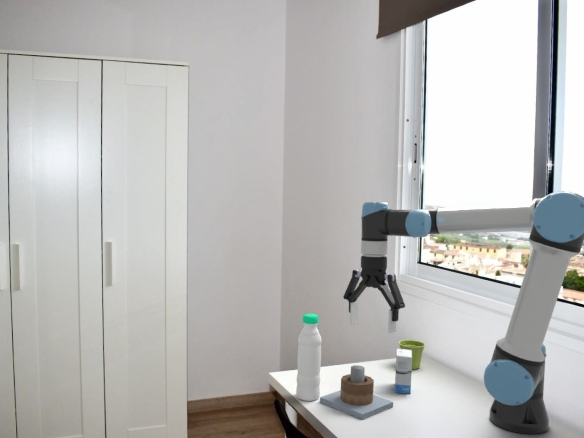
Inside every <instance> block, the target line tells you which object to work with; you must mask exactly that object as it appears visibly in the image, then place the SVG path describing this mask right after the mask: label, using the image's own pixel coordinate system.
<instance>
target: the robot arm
mask: <svg viewBox="0 0 584 438" xmlns="http://www.w3.org/2000/svg"><path fill="white" fill-rule="evenodd" d="M361 207H362V211H361V217H360V218H361V238H360V239H361V241H360V242H361V243H360V253H361V256H360V268H361V269H358V268H357V269H353V270H352V271H351V273H352V274H351V279H350V281H349V283H348V285H347V287H346V289H345V292H344V293H343V299H344V300H347V302H348V313H350V315H349V316H350V319H349V321H350V323H349V325H351V326H353V325H357V324H359V301H358V299H359V297H360V296H362V293H364V290H366V288H373V289H377V290H378V291H380V293H381V295H382V296H383V298H384V299H385V301H386V303H387V304H388V306H389V308H390V309H388V316H387V317H388V322H387V323H388V324H387V325H388V326H387V334H393V333H395V332H397V322H398V321H399V312H400V310H401V309H404V308H405V307H406V304H405V301H404V298H403V297H402V293H401V291H400V288H399V285H398V284H397V275H396V274H395V273H390V274H387V268H388V257H387V256H386V255H387V254H388V240H389V239H388V237H389V236H390V237H392V236H393V237H394V236H395V237H410V238H411V237H412V238H415V239H416V238H425V237H428V236H429V235H440V234H441V235H442V234H443V235H445V234H447V235H448V234H470V233H474V234H475V233H477V234H478V233H479V234H480V233H505V232H506V233H509V232H511V233H513V232H530V234H529V238H528V241H529V243H530V245H531V246H532V249H531V253H530V256H529V260H528V263H527V266H526V270H525V272H524V276H523V278H522V279H523V280H522V282H521V285H520V288H519V291H518V295H517V297H516V302H515V304H514V308H513V310H512V315H511V317H510V321H509V323H508V326H507V327H508V328H507V331H506V334H505V336H504V337H502V338H501V339H498V340H497V341H496V344H495V347H494V350H493V354H492V356H491V360H490V363H489V364H487V366H486V367H485V370H484V373H483V383H484V387H485V389H486V391H487V392H488V393H489V395H490V396H491V397H492V398H493V402H492V404H491V406H490V409H489V420H490V421H491V422H492V424H494V426H495V425H496V426H497V427H499V428H502V429H504V430H506V431H510V432H514V433H520V434H526V435H539V434H543V433H546V432H547V431H548V430H549V429H550V427H549V426H550V419H549V416H548V415H549V414H548V411H547V408H546V404H545V401H544V388H545V372H546V369H545V368H546V357H547V352H546V351H547V350H546V346H545V345H544V341H545V337H546V334H547V332H548V329H549V326H550V322H551V319H552V316H553V313H554V310H555V307H556V305H557V301H558V297H559V295H560V292H561V289H562V286H563V283H564V279H565V276H566V273H567V271H568V267H569V265H570V262H571V261H570V260H571V259H572V258H574V257H576V256H578V255H580V253H581V250H582V247H583V244H584V196H582V195H580V194H578V193H574V192H572V191H564V190H560V191H554V192H551V193H549V194H547V195H545V196H544V197H542V198H534V199H533V200H532V201H531V202H523V203H522V202H521V203H508V204H507V203H506V204H504V203H503V204H491V205H489V204H488V205H475V206H474V205H473V206H457V207H441V208H422V209H392V208H389V204H388V202H386V201H384V202H383V201H382V202H379V201H376V202H375V201H366V202H364V203H363V204H362V206H361ZM360 278H361V280H360ZM359 281H360V282H359Z"/></svg>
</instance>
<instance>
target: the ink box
mask: <svg viewBox="0 0 584 438" xmlns="http://www.w3.org/2000/svg"><path fill="white" fill-rule="evenodd" d="M412 370H413V369H412V350H405V349H401V348H396V359H395V374H394V375H395V380H394V382H395V383H394V390H395V391H394V392H395V393H399V394H409V395H410V394H411V392H412Z"/></svg>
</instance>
